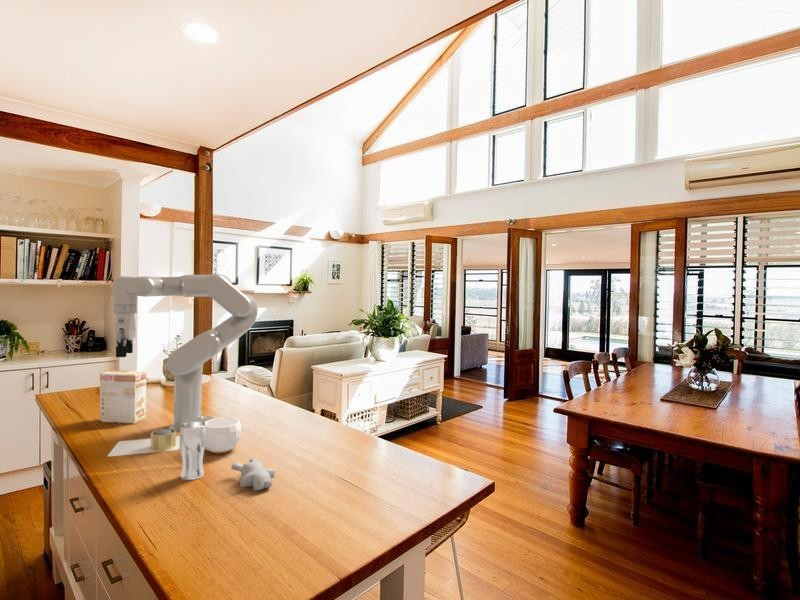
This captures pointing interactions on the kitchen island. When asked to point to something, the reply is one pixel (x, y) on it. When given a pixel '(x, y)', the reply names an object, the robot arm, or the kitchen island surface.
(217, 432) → the cup
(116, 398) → the coffeecake box
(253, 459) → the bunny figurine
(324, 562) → the kitchen island surface
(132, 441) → the stand
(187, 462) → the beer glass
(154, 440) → the brass ring
